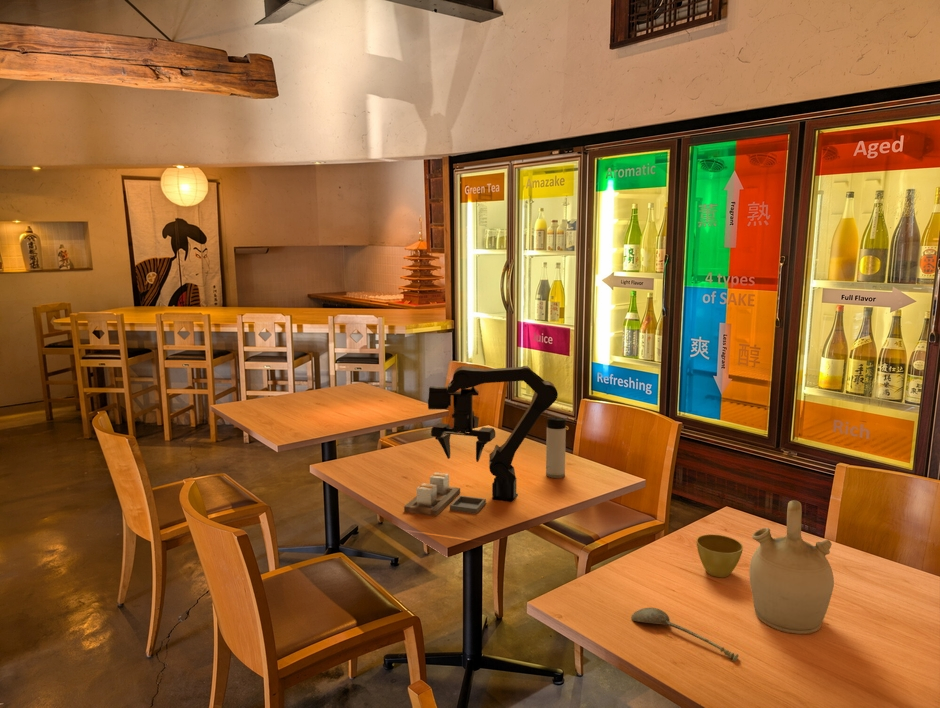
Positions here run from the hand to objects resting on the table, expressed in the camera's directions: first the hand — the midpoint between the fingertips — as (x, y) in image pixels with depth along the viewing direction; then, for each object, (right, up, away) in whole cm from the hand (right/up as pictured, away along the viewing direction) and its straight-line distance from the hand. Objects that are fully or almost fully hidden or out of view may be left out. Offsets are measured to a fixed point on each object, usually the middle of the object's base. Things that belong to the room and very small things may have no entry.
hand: (463, 459), depth 197 cm
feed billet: (-11, -13, -7) cm, 18 cm away
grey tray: (+1, -13, -6) cm, 14 cm away
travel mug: (+30, -9, +22) cm, 38 cm away
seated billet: (-7, -12, +2) cm, 14 cm away
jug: (+67, -22, -63) cm, 95 cm away
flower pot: (+60, -19, -44) cm, 77 cm away
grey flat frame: (-9, -13, -2) cm, 16 cm away
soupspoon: (+43, -24, -69) cm, 85 cm away
